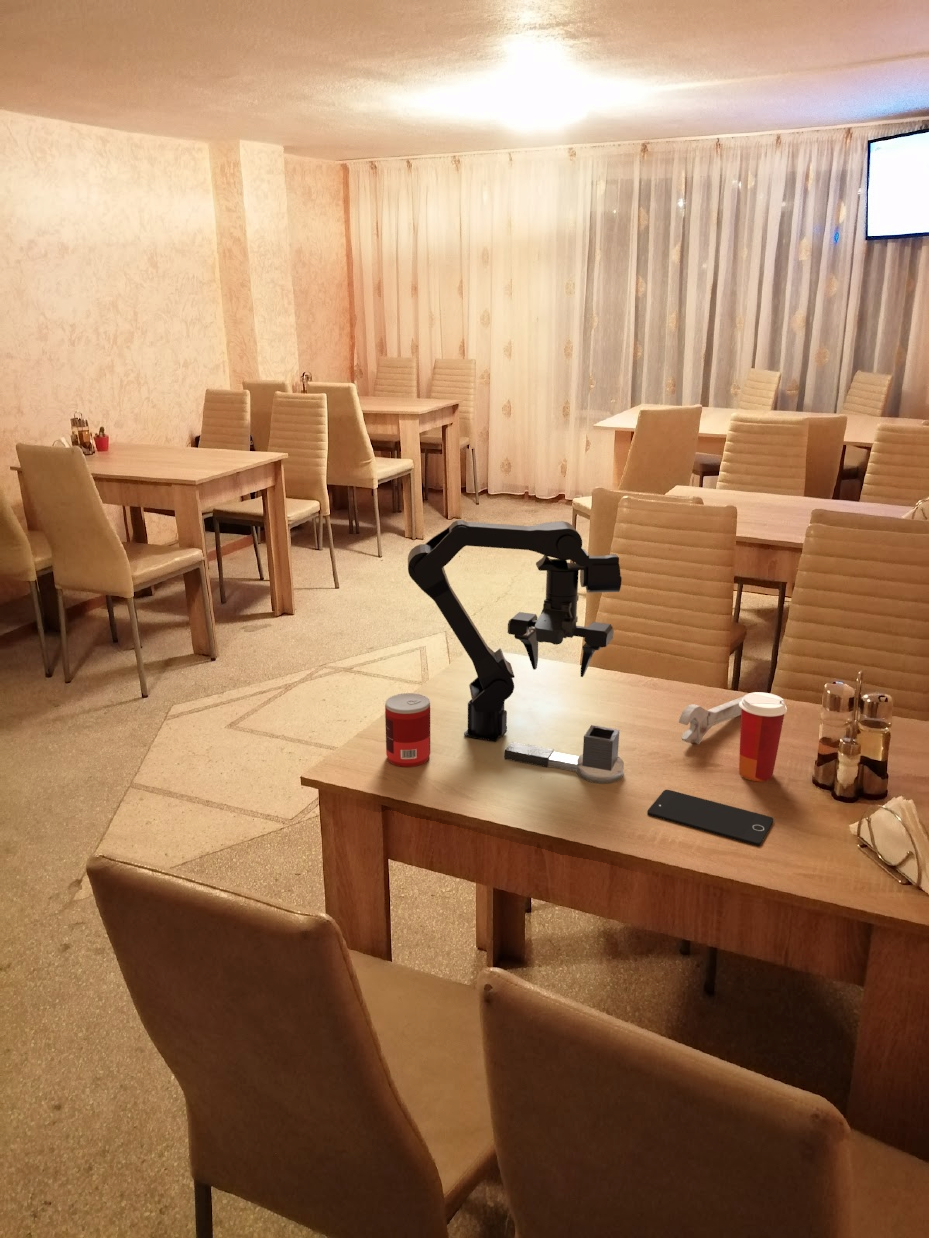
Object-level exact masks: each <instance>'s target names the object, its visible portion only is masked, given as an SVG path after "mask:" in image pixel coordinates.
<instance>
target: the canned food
mask: <svg viewBox="0 0 929 1238" xmlns="http://www.w3.org/2000/svg"><path fill="white" fill-rule="evenodd" d="M430 700H431V699H430V698H429V697H427V696H426V695H423V694H420V693H416V692H415V693H414V692H413V693H412V692H407V693H398V694H394V695H392V696H390V697H388V698H387V699H386V700H385V703H384V704H385V706H384V707H385V708H384V713H385V715H384V716H385V717H384V718H385V720H384V721H385V722H384V723H385V751H386V753H385V754H386V757H387V760H388V762H389V763H390V764H392V765H394V766H397V767H402V768H403V767H404V768H411V767H412V768H413V767H416V766H420V765H421V766H422V765H423V764H425V763H426V762H427V761H428V760H429V759H430V756H431V701H430Z"/></svg>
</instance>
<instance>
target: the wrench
mask: <svg viewBox="0 0 929 1238" xmlns="http://www.w3.org/2000/svg"><path fill="white" fill-rule="evenodd" d="M744 696H745V695H742V696H741V697H738V698H736V699H733V700H729V701H727V702H725V703H723V704H722V703H721V704H720V705H717V706H714V707H712V708H710V709H705V708H704V707H702V705H701V706H700V705H697V704H694V703H691V704H690V703H689V705H687V706H686V707H685V708H684V709H683V710H682V712H681V714H680V717H679V719H678V723H680V724H682V725H684V726H688V725H689V724H690V725H689V728H688V729H687V730H686V731H685V732H684V733H683V734H682V735H681V740H682V741H683V742H685V743H689V744H692V743H695V744H697V745H700V744H701V743H702V741H703V738H704V737H705V736H706V734H707V733H708V731H709V730H711V728H712V727H713V726H716V725H719V724H720V723H723V722H726V721H728V720H731V719H733V718H736V717H740V716H741V707H740V706H739V702H741V700H742V698H743V697H744Z"/></svg>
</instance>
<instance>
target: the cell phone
mask: <svg viewBox="0 0 929 1238" xmlns="http://www.w3.org/2000/svg"><path fill="white" fill-rule="evenodd" d="M646 814H647V816H648V817H653V818H656V819H660V820H662V821H663V820H664V821H666V822H671V823H674V824H676V825H681V826H685V827H687V828H688V827H689V828H691V829H694V830H699V831H702V832H706V833H709V834H713V835H716V836H719V837H723V838H727V839H730V840H732V841H733V840H735V841H737V842H741V843H744V844H748V845H751V846H755V847H760V846H762V844H763V842H764V840H765V839H766V837H767V835H768V834H769V833H768V832H769V831H770V829H771V828H772V826H773V824H774V817H772V816H769V815H765V814H762V813H757V812H754V811H751V810H746V809H744V808H743V809H742V808H739V807H735V806H731V805H729V804H728V805H727V804H724V803H720V802H716V801H712V800H709V799H705V798H702V797H698V796H694V795H691V794H686V793H682V792H679V791H674V790H671V789H664V790H663V791H662V792H661V793H660V794H659V796H658V797H657V798H656V800H655V801H654V802H653V804H652V805H651V806H650V807H649V808H648V810H647V813H646Z"/></svg>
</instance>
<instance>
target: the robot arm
mask: <svg viewBox="0 0 929 1238" xmlns="http://www.w3.org/2000/svg"><path fill="white" fill-rule="evenodd" d="M582 546H583V539H582V536H581V535H580V533H579V532H578V531H577V529H576V528H575V527H574V526H573V524H571V523H570V522H568V521H564V520H561V521H553V522H552V521H550V522H543V523H540V524H535V525H516V524H505V523H504V524H502V523H487V522H476V521H475V522H474V521H472V522H471V521H467V520H463V519H457V520H455V521H453V522H452V523H451V524H450V525H448V527H446V528H445V529H443V530H442V531H440V532H439V533H438V534H436V535H434V536H433V537H432V538H430V539H429V540H428V541H427V542H425V543H424V544H418V545H416V546H414V547H413V548H412V549H410V551H409V553H408V556H407V572H408V575H409V578H411V580H412V581H413V582H414V583H415V584H416V585H417V586H418V588H419V589H420V590H421V591H423V592H424V594H426V595H427V596H428V597H429V598H431V599H432V600H433V601H434V603H435V604H436V606H437V608H438V610H439V611H440V613H441V614H442V616H443V618H444V619H445V621H446V622H447V624H448V626H449V627H450V628H451V630H452V632H453V633H454V635H455V637H457V640H458V641H459V643H460V644H461V646H462V648H463V649H464V651H465V652H466V653H467V655H468V656H469V658H470V660H471V662H472V664H473V667H474V670H475V672H476V675H477V676H476V677H475V679H474V680H473V681H472V682H470V683H469V684H468V685H469V690H470V691H469V692H470V697H471V699H470V700H469V701H467V729H466V731H464V733H463V736H464V737H468V738H473V739H479V740H485V741H489V742H497V741H498V740H499V739H500V737H501V736H503V734H504V733H506V731H507V729H508V725H507V722H508V721H507V720H508V719H507V718H508V715H507V714H508V711H507V710H506V709H505V701H506V700H507V699H509V698H510V697H511V696H512V695H513V693H514V689H515V684H514V678H515V674H514V671H513V667H512V664H511V663H510V662H509V661H508V660H507V659H506V658H505V656H504V652H503V650H502V648H498V649H497V650H496V651H494V650H493V649H491V648H490V647H489V646H488V645H487V642H486V640H484V638H483V636H482V635H481V633H480V632H479V629H478V628H477V626H476V625H475V623H474V621H473V620H472V619H471V617H470V615H469V614H468V612H467V610H466V609H465V607H464V606H463V604H462V603H461V601H460V599H459V598H458V595H456V592H454V590H453V587H452V586H451V584H450V581H449V578H448V576H447V573H446V570H445V566H446V565H448V564H449V563H450V562H451V561H452V560H453V558H455V556H456V555H457V554H459V552H460V551H461V550H462V549H463V548H465V547H479V548H495V549H506V550H507V549H510V550H520V551H521V550H524V551H525V550H526V551H530V552H534V553H538V554H541V555H543V556H542V557H541V558H540V559H539V560H537V561H536V562H535V566H536V567H537V570H538V571H539V572H541V571H543V572H544V571H545V572H546V575H545V576H546V579H545V581H546V582H545V599H544V600H543V607H542V610H541V613H540V614H539V616H537V614H536V613H529V612H521V611H519V612H517V613H516V614H515V615H514V616H513V617H511V618H510V620H508V623H507V634H508V635H513V636H514V639H516V640H519V641H520V642H521V643H522V644H523V645H524V648H525V650H526V652H527V655H528V659H529V661H530V664H531V668H532V669H533V670H537V668H538V661H539V643H549V644H552V645H557V646H558V645H560V644H562V643H563V641H564V639H567V638H570V639H573V637H580V638H584V639H583V640H584V642H585V643H584V644H583V646H582V659H581V666H580V678H583V677H584V676H585V674H586V672H587V670H588V667H589V665H590V663H591V660H592V657H593V656H594V654H595V652H596V651H599V650H600V649H601V648H607V646H609V644H610V643H611V641H612V640H613V639H614V631H615V630H614V627H613V626H612V624H610V623H604V622H598V621H592V622H590V624H589V625H588V626H580V625H577V622H578V619H579V618H578V617H579V616H578V615H577V614H578V613H577V611H578V601H579V597H580V595H579V594H578V593H579V591H578V590H579V583H580V587H581V588H585V590H586V592H587V593H589V594H590V593H591V594H592V593H598V594H599V593H620V591H621V588H622V579H623V578H622V575H621V567H620V557H619V556H618V555H617V554H612V553H611V554H606V555H590V554H589V553H588V552H587V551H586V549H585V548H582ZM570 560H571V561H572V562H569V561H570Z"/></svg>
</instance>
